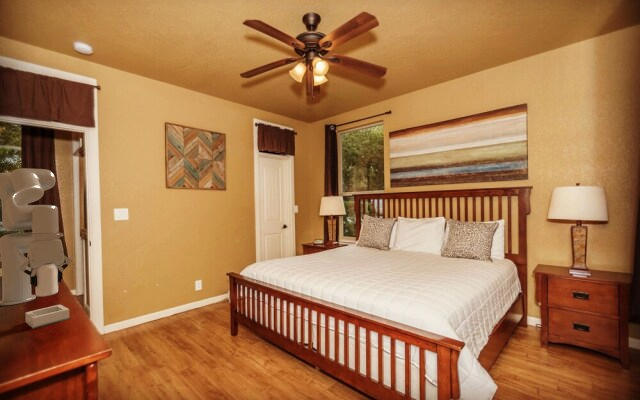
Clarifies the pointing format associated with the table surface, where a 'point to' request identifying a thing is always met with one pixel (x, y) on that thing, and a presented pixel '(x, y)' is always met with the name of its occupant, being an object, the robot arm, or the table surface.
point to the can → (47, 280)
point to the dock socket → (47, 316)
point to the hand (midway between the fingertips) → (46, 283)
